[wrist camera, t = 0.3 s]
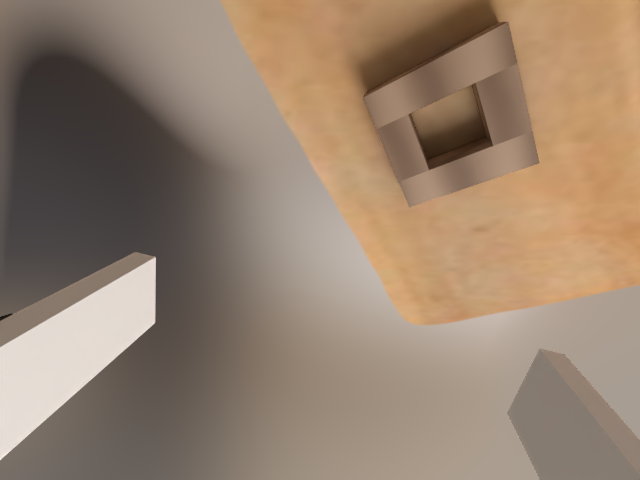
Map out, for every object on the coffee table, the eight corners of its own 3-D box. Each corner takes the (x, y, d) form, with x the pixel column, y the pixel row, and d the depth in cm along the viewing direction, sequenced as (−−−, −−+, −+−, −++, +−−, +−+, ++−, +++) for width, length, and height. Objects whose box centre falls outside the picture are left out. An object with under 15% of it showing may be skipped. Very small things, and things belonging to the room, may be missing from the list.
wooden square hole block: (498, 22, 26) (507, 21, 24) (529, 152, 30) (539, 163, 28) (366, 92, 31) (362, 97, 29) (409, 194, 35) (409, 207, 33)
